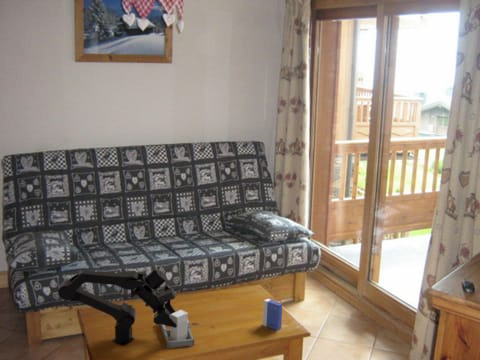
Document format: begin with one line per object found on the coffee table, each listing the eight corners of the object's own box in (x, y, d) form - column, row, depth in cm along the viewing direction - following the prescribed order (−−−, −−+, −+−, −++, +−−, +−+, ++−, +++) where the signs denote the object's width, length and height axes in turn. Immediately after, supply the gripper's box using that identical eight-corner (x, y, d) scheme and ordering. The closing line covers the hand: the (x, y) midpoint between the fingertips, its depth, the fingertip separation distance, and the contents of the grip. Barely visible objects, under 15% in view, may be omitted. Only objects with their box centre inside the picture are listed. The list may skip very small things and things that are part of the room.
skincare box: (180, 335, 242) (180, 309, 239) (187, 339, 239) (188, 312, 237) (169, 341, 237) (169, 314, 235) (177, 344, 235) (177, 317, 232)
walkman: (281, 328, 252) (282, 302, 249) (277, 330, 249) (279, 304, 247) (265, 322, 256) (267, 297, 253) (262, 325, 254) (263, 299, 251)
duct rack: (194, 345, 235) (194, 334, 234) (167, 348, 232) (167, 336, 231) (184, 321, 254) (184, 311, 253) (160, 324, 251) (160, 313, 250)
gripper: (162, 292, 223) (190, 319, 226) (164, 273, 241) (190, 298, 244) (141, 311, 224) (170, 337, 228) (145, 291, 242) (171, 315, 246)
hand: (176, 321), depth 236 cm, fingers open, 9 cm apart
